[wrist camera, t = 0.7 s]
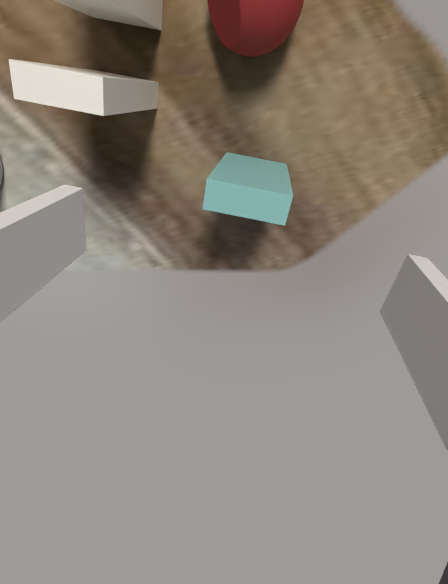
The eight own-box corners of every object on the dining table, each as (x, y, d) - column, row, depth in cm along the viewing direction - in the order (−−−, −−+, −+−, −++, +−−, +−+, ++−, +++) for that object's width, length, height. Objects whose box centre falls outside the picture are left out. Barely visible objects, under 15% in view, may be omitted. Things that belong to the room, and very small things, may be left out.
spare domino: (281, 186, 29) (285, 225, 20) (223, 174, 29) (202, 209, 20) (286, 163, 28) (293, 195, 19) (226, 152, 28) (206, 178, 19)
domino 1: (157, 108, 27) (103, 115, 18) (96, 96, 27) (14, 98, 18) (158, 82, 26) (102, 77, 17) (95, 70, 26) (8, 59, 17)
